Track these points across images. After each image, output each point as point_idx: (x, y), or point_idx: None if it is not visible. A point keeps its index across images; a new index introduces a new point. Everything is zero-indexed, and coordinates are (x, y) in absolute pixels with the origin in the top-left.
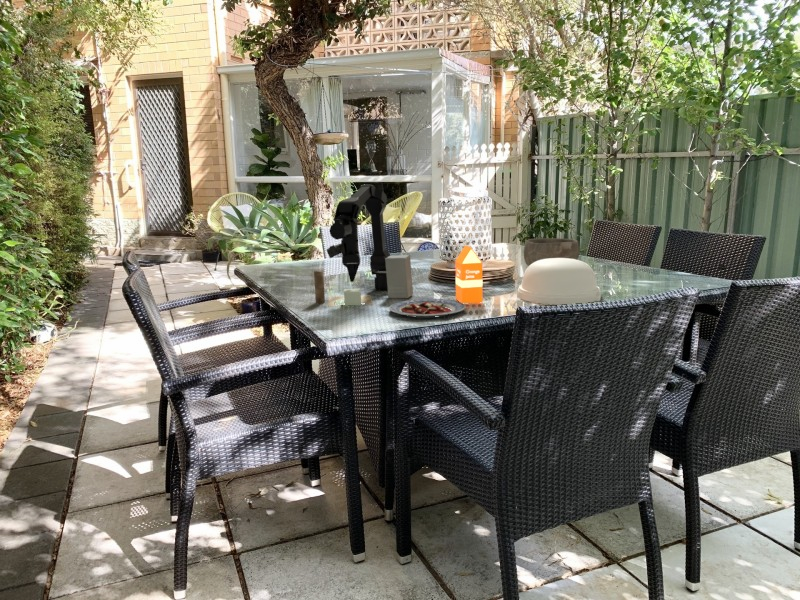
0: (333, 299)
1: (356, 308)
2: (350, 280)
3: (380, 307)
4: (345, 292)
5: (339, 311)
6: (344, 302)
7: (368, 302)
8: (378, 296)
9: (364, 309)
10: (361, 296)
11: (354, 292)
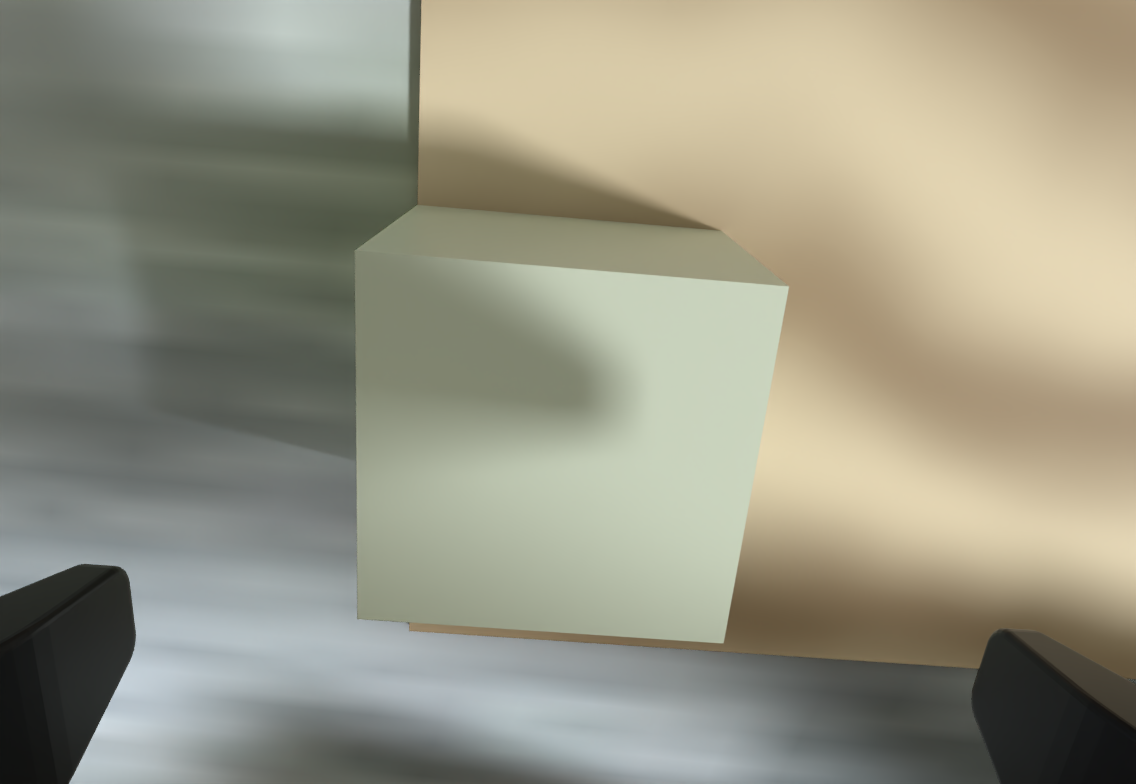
0: (1119, 29)
1: (220, 384)
2: (37, 585)
3: (235, 700)
4: (357, 286)
5: (3, 70)
6: (406, 213)
7: None
8: None
9: (126, 491)
10: (1114, 549)
11: (362, 486)
